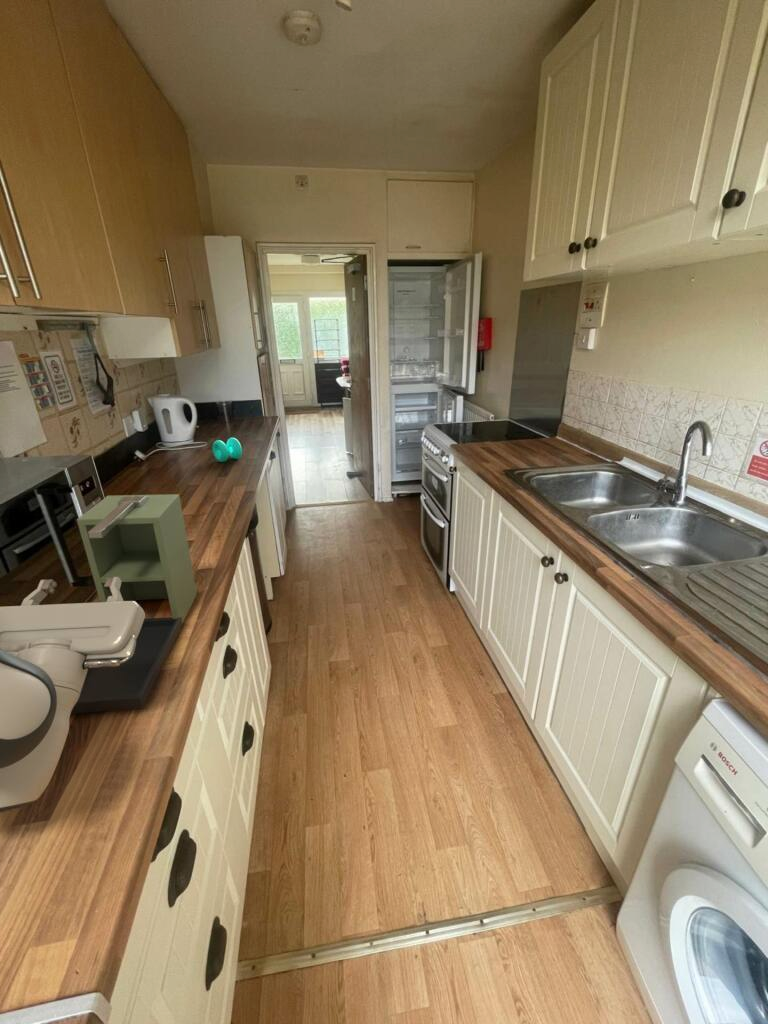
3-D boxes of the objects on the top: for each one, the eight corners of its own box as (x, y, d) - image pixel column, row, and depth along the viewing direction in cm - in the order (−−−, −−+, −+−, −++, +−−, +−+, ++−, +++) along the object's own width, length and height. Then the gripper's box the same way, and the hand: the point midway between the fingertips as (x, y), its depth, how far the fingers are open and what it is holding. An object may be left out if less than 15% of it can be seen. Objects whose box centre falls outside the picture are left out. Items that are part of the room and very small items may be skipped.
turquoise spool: (212, 460, 197) (209, 439, 193) (232, 456, 204) (229, 435, 200) (224, 464, 191) (221, 442, 187) (244, 460, 198) (241, 439, 194)
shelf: (108, 631, 87) (76, 519, 77) (133, 597, 98) (107, 495, 88) (180, 627, 88) (158, 517, 78) (196, 594, 99) (179, 494, 89)
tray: (52, 715, 68) (48, 704, 67) (113, 629, 87) (110, 620, 86) (142, 708, 70) (139, 698, 69) (183, 625, 89) (181, 616, 88)
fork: (109, 537, 71) (107, 531, 70) (82, 538, 70) (81, 532, 70) (150, 498, 87) (149, 492, 86) (129, 498, 86) (128, 493, 86)
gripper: (120, 658, 57) (145, 567, 65) (-50, 668, 54) (-2, 572, 63) (138, 672, 62) (159, 586, 70) (-17, 682, 59) (23, 591, 68)
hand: (82, 579), depth 66 cm, fingers open, 8 cm apart
